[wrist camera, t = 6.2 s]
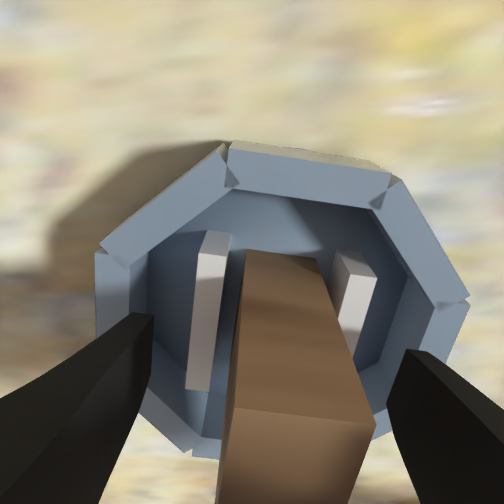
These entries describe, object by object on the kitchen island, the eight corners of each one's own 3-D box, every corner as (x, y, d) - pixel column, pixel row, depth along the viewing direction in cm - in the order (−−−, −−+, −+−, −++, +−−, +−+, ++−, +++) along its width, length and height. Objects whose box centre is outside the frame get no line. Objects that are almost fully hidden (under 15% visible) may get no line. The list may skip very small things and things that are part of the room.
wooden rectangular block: (293, 352, 14) (323, 566, 8) (231, 344, 14) (209, 553, 8) (315, 258, 13) (376, 425, 6) (246, 248, 12) (234, 407, 6)
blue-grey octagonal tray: (375, 425, 16) (394, 480, 14) (121, 393, 16) (97, 445, 13) (468, 174, 12) (519, 192, 10) (125, 121, 11) (92, 127, 9)
